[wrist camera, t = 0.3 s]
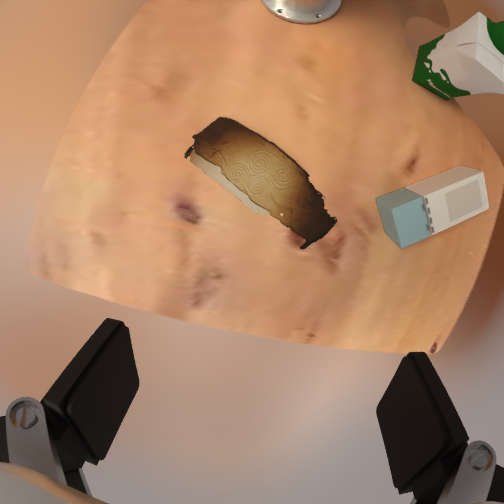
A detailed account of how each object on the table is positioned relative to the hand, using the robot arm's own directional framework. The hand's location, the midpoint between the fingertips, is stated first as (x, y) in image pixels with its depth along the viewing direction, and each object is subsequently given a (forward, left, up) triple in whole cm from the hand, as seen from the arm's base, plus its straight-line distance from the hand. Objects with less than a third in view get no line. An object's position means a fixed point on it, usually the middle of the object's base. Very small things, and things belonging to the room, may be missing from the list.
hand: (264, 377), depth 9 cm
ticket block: (+10, +25, -36) cm, 45 cm away
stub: (+10, +16, -36) cm, 41 cm away
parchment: (-2, -1, -36) cm, 36 cm away
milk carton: (-9, +32, -36) cm, 49 cm away
